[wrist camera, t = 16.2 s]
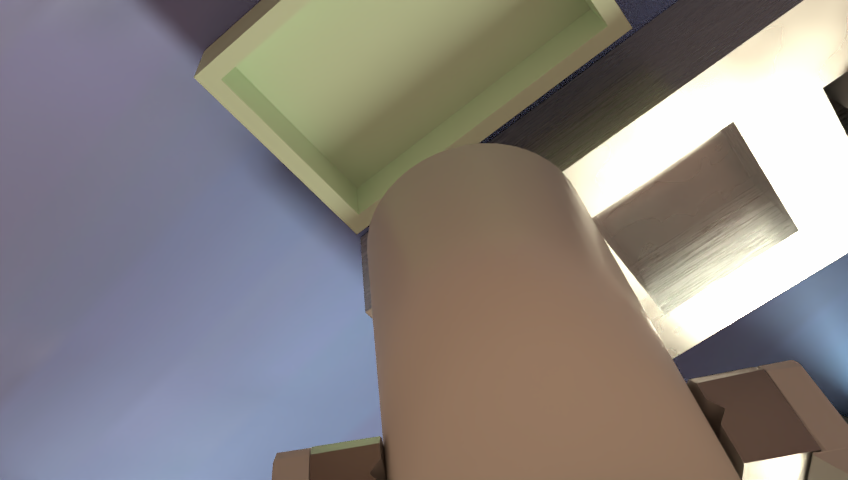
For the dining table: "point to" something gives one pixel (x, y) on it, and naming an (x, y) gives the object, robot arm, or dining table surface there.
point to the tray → (392, 80)
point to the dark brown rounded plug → (838, 89)
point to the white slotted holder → (707, 156)
